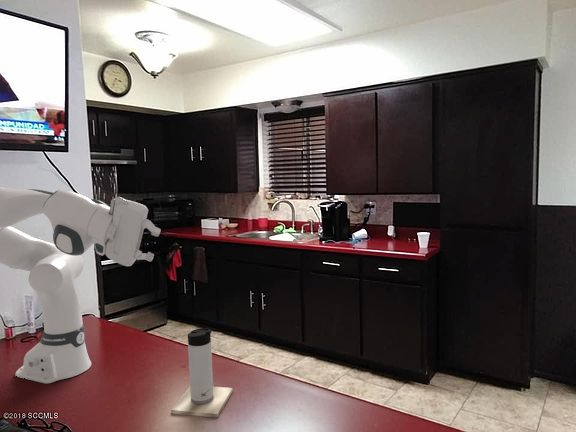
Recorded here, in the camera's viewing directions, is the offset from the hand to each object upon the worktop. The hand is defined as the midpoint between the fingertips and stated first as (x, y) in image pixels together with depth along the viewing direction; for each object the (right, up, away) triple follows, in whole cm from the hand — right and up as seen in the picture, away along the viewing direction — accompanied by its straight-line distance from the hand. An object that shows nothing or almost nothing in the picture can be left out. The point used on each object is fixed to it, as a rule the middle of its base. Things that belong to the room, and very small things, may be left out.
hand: (156, 246), depth 111 cm
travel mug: (+11, -43, +6) cm, 45 cm away
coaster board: (+11, -44, +6) cm, 46 cm away
